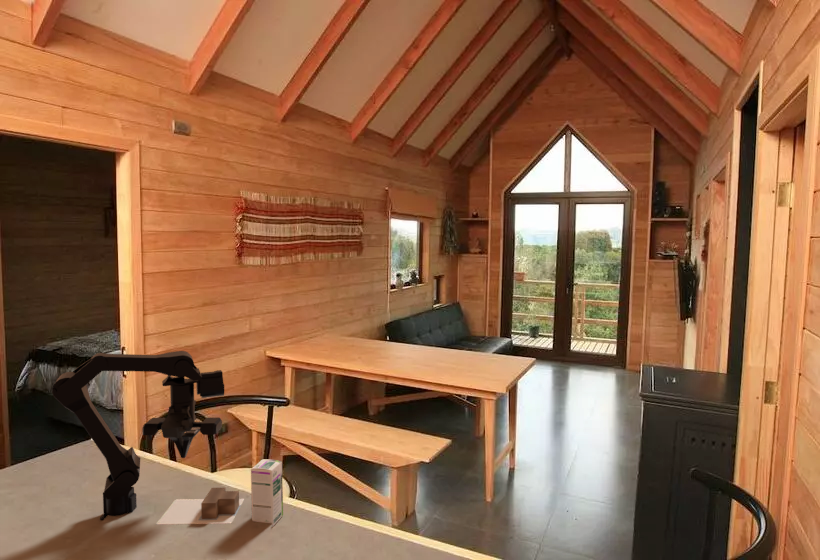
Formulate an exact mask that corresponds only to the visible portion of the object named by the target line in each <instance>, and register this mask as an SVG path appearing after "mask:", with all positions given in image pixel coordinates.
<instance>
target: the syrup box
mask: <svg viewBox="0 0 820 560" xmlns="http://www.w3.org/2000/svg"><path fill="white" fill-rule="evenodd" d="M283 490H284V489H283V461H281V460H278V459H261V460H260V461H259V462H257V464H255V465H254V466H253V467H252V468H251V469H250V491H251V492H250V493H251V521H252V522H258V523H265V524H271V528H273V527H275V525H276V524H277V523H278V522H279V520H280V519H281V518H282V517H283V516H284V499H283V498H284V495H283V494H284V493H283V492H284V491H283Z"/></svg>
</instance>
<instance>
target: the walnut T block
mask: <svg viewBox="0 0 820 560" xmlns="http://www.w3.org/2000/svg"><path fill="white" fill-rule="evenodd" d="M203 499H204V500H203V502H202V503H201V512H202V519H216V518H217V516H218V515H219V514H235V513H236V511H237V509H238V507H239V499H240V490H230V491H229V490H227V489H226V487H211V489H210V490H209V491H208V493H207V495H205V497H204V498H203Z"/></svg>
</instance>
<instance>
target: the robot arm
mask: <svg viewBox="0 0 820 560" xmlns="http://www.w3.org/2000/svg"><path fill="white" fill-rule="evenodd" d="M102 372H145V373H146V372H147V373H148V372H151V373H152V372H153V373H159V374H161V375H162V374H163V375H166V377H165V378H164V379H163V380H162V381H161V382H162V383H161V385H162V386H163V387H169V388H170V389H169V390H170V391H169V392H170V406H169V407H168V412H167V415H166V417H151V419H149V420H148V421H147V422H145V423H144V424H143V425H142V430H141V431H142V436H154V435H156V434H157V433H158V432H159V430H161V431H162V432H161V433H162V437H163V438H164V439H170V440H172V441H173V443H174V445H175V447H176V449H177V451H178V453H179V456H180V458H181V459H185V458H186V457H187V455H188V453H189V452H188V451H189V449H190V447H191V444H192V443H193V442H192V441H193V439H194V438H195V437H196V435H198V434H199V432H200V433H201V435H203V436H208V435H209V436H213V435H217V434H218V433H219V431H220V430H221V429H222V428H223V421H222V418H220V417H206V418H205V419H204V420H203V421H196V419H197V414H196V415H195V405H197V400H195V391H196V395H197V396H198V395H199V397H201V399H205V398H213V397H214V398H215V397H216V398H217V397H222V396H225V384H224V377H223V371H222V370H221V369H219V370H214V371H207V372H204V371H203V372H201V370H200V369H199V367H197V366H196V365H195V363H194V359H193V357H192V355H191V354H190V353H189V352H188V351H185V350H177V351H168V352H165V353H159V354H132V353H130V354H129V353H128V354H127V353H126V354H125V353H105V352H97V353H95V354H94V355H92V357H91V358H90V359H88V360H87V361H85V362H84V363H81V364H80V365H79V366H78V367H77V368H75V369H74V370H73V371H67V372H63V373H62V374H61V375H59V377H58V378H56V381H55V382H54V383H53V385H52V389H51V394H52V396H53V398H54V399H55V400H57V402H59V403H60V405H62V406H63V407H64V408H65V409H66V410H69V412H71V413H73V414H74V415H75V416H76V418H77V419H78V421H79V422H80V424H81V425H82V427H83V428H84V430H85V431H86V432H87V434H88V435H89V437H90V438H91V439H92V441H93V442H94V444H95V445H96V447H97V449H98V450H99V451H100V452H101V454H102V456H103V457H104V459H105V461H106V464H107V468H108V471H109V475H108V476H107V477H106V478H105V479H106V480H105V484H104V489H103V492H102V506H103V507H102V509H103V511H102V512H103V514H102V515H101V516H100V517H99V519H100V521H104V520H105V519H106V518H107V517H108V516H110V517H118V516H122V515H125V514H131V513H133V512H134V511H135V510H136V508H137V493H135V486H134V485H136V484H137V482H138V481H139V479H140V474H141V473H140V471H141V470H140V469H141V457H140V456H139V455H138V454H137V453H136V451H135V449H134V447H133V446H131V447H130V448H129V449H126V448H125V447H124V446H122V445H121V444H120V442H119V441H118V439H117V438H116V436H115V435H114V433H113V432H112V430H111V429H110V427H109V426H108V424H107V423H106V422H105V420H104V419H103V417H102V415H101V414H100V413H99V411H98V410H97V408H96V407H95V405H94V404H93V402H92V399H91V396H90V393H89V390H88V387H87V384H89V383H90V382H91V381H92V380H93V379H95V377H97V376H99V374H101V373H102ZM195 385H196V386H195ZM195 388H196V390H195Z"/></svg>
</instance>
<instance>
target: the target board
mask: <svg viewBox="0 0 820 560" xmlns="http://www.w3.org/2000/svg"><path fill="white" fill-rule="evenodd" d="M204 499H205V498H197V499H195V498H191V499H189V498H188V499H186V498H185V499H183V498H182V499H180V498H179V499H177V498H176V499H174V500H173V502H172V503H171V504H170V506H169V507H168V508H167V509H166V510H165V512H164V514H162V516H161V517H160V518H159V519H158V521H157V522H156V523H155V525H197V524H198V525H200V524H201V525H203V524H204V525H205V524H207V525H211V524H213V525H215V524H217V525H218V524H220V525H221V524H232V523H233V522H234V520H235V518H236V515H237V514H238V512H239V509H240V508H241V507H242V504H243V503H244V500H245V498H239V507H238V509H237V511H236V513H235V514H219V515H218V516H217V518H216V519H202V512H201V503H202V502H203V500H204Z"/></svg>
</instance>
